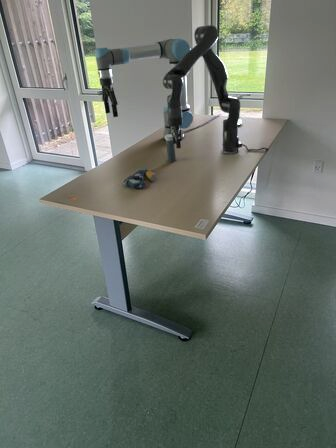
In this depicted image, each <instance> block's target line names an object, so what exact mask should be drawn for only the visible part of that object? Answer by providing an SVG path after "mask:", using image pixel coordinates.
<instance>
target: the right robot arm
mask: <svg viewBox="0 0 336 448" xmlns="http://www.w3.org/2000/svg"><path fill="white" fill-rule="evenodd" d="M193 36H194V41H195V44H196V45H195V46H193V47H192V48H190V51H188V52H187V53H186V54H185V55H184V56H183V57H182V58H181V60H180V61H179V62H178V64H177V65H176V66H175V67H174V68H172V67H171V69H170V70H169V71H168V72H166V73H165V75H164V77H163V79H162V86H163V88H164V89H166V90H171V94H169V95H167V96H166V104H167V105H166V107H167V106H168V125H169V126H171V135H172V137H173V144H175V149H181V148H182V147H181V146H182V144H181V143H182V141H183V140H182V139H183V138H182V139H181V129H182V128H181V129H180V128H179V126H180V125H182V109H181V94H182V89H183V80H182V77H185V76H186V77H187V75H189V73H190V71H191V70H192V69H193V67H195V65H196V63H198V61H199V60H200V59H201V58H202V59H203V61H204V63H205V66H206V68H207V71H208V74H209V77H210V80H211V83H212V84H213V88H214V90H215V94H216V96H217V101H218V105H219V108H220V110H221V111H222V112H223V113H225V114H227V115H228V116H227V118H224V119H223V120H222V144H221V145H222V153H223V154H227V155H230V154H231V155H232V154H236V153H239V149H240V148H243V147H245V149H246V151H249V152H251V151H256V152H257V151H261V150H266V151H269V148H267V147H261V148H256V149H255V148H251V149H249V148H248V146H247V145H246V144H243V142H241V141H240V137H239V125H238V121H239V119H240V116H241V101H240V99H239V98H237V97H233V96H230V95H229V92H228V90H227V84H228V80H229V79H228V78H229V75H228V72H227V71H228V70H227V68H226V66H225V63H224V62H223V61H222V59H221V58H220V57H219V56H218V55H217V54H216V53H215V51H214V50H213V48H212V47H213V46H214V45H215V44H216V43H217V41H218V39H219V30H218V28H217V26H215V25H212V24H207V25H201V26H197V27H196V28H195V30H194V34H193ZM178 137H179V139H178Z"/></svg>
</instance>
